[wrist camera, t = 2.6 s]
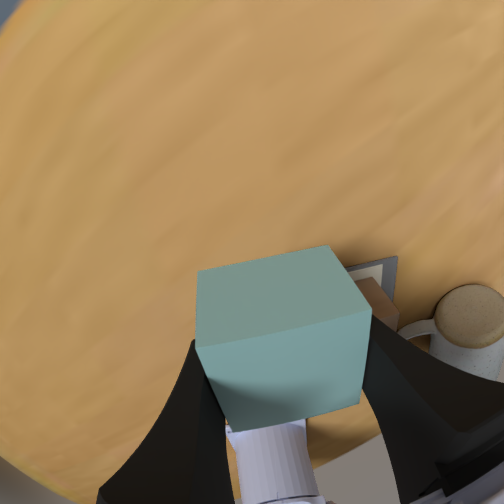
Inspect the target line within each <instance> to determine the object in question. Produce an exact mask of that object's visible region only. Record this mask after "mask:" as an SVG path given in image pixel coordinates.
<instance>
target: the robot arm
mask: <svg viewBox="0 0 504 504" xmlns="http://www.w3.org/2000/svg"><path fill="white" fill-rule="evenodd" d="M362 389H363V391H364V393H365V395H366V397H367V399H368V401H369V403H370V405H371V407H372V409H373V411H374V413H375V416H376V418H377V421H378V424H379V426H380V429H381V432H382V435H383V438H384V441H385V444H386V447H387V450H388V454H389V457H390V461H391V464H392V468H393V472H394V475H395V480H396V484H397V489H398V494H399V499H400V503H401V504H446V503H447V504H504V383H501V382H497V381H493V380H489V379H486V378H482V377H479V376H476V375H473V374H471V373H468V372H465V371H463V370H460V369H458V368H456V367H453V366H451V365H449V364H447V363H445V362H443V361H441V360H439V359H437V358H435V357H433V356H431V355H430V354H428V353H426V352H424V351H423V350H421V349H419V348H418V347H416V346H415V345H413V344H412V343H410V342H409V341H407V340H406V339H405V338H403V337H402V336H400V335H399V334H398V333H396V332H395V331H394V330H392V329H391V328H390V327H388V326H387V325H386V324H384V323H383V322H382V321H381V320H379V319H378V318H377V317H376V316H374V315H373V314H372V316H371V325H370V334H369V342H368V350H367V358H366V364H365V371H364V377H363V384H362ZM226 435H227V437H228V439H229V441H230V443H231V444H232V446H233V448H234V450H235V452H236V458H237V466H238V474H239V482H240V490H241V497H242V504H335V503H334V502H332V501H328V502H326V501H325V497H324V495H321V496H320V495H319V491H318V487H317V484H316V480H315V476H314V472H313V469H312V465H311V461H310V458H309V454H308V450H307V438H306V420H305V419H302V420H297V421H293V422H289V423H284V424H279V425H275V426H269V427H264V428H259V429H253V430H248V431H241V432H235V433H233V432H232V430H231V428H230V426H229V425H226V423H225V415H224V413H223V411H222V409H221V407H220V405H219V402H218V400H217V398H216V396H215V394H214V391H213V389H212V387H211V384H210V382H209V380H208V378H207V375H206V373H205V371H204V368H203V366H202V363H201V361H200V359H199V356H198V354H197V351H196V349H195V339H193V341H192V342H191V345H190V348H189V351H188V354H187V357H186V359H185V362H184V365H183V367H182V370H181V372H180V374H179V377H178V379H177V381H176V384H175V386H174V388H173V390H172V392H171V394H170V396H169V398H168V400H167V402H166V404H165V406H164V408H163V410H162V412H161V414H160V415H159V417H158V419H157V420H156V422H155V424H154V425H153V427H152V428H151V430H150V431H149V433H148V434H147V436H146V437H145V439H144V440H143V441H142V443H141V444H140V445H139V447H138V448H137V449H136V450H135V452H134V453H133V454H132V455H131V456H130V458H129V459H128V460H127V461H126V462H125V463H124V465H123V466H122V467H121V468H120V469H119V470H118V471H117V472H116V473H115V474H114V475H113V476H112V477H111V478H110V479H109V480H108V481H107V482H106V483H105V484H104V485H102V486H101V487H100V488H99V491H98V496H97V501H96V504H235V501H234V496H233V491H232V485H231V479H230V473H229V466H228V459H227V451H226Z"/></svg>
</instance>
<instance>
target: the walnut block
mask: <svg viewBox="0 0 504 504" xmlns="http://www.w3.org/2000/svg"><path fill="white" fill-rule="evenodd" d="M354 283H355V284H356V286H357V287H358V289H359V290H360V291H361V293H362V294H363V296H364V297H365V299H366V300H367V302H368V303H369V305H370V306H371V308H372V314H373V315H374V316H376V317H377V318H378V319H379V320H381V321H382V322H383V323H384V324H386V325H387V326H388V327H390V328H391V329H392V330H394V331H395V332H396V331H397V326H398V321H399V315H400V312H399V311H398V310H397V308H396V307H395V305H394V304H393V303H392V301H391V300H390V299H389V297H388V296H387V295H386V293H385V292H384V291H383V289H382V288H381V287H380V286H379V284H378V283H377V282H376V280H375V279H374V278H373V276H372V277H368V278H364V279H360V280H356V281H354Z"/></svg>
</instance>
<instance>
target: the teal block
mask: <svg viewBox="0 0 504 504" xmlns="http://www.w3.org/2000/svg"><path fill="white" fill-rule="evenodd" d="M371 316H372V308H371V306H370V305H369V303H368V302H367V300H366V299H365V297H364V296H363V294H362V293H361V291H360V290H359V289H358V287H357V286H356V284H355V283H354V281H353V280H352V278H351V277H350V276H349V274H348V273H347V271H346V270H345V268H344V267H343V266H342V264H341V263H340V261H339V260H338V258H337V257H336V256H335V254H334V253H333V251H332V250H331V249H330V247H329V246H328V245H324V246H319V247H314V248H310V249H305V250H300V251H295V252H290V253H285V254H281V255H276V256H271V257H266V258H261V259H256V260H251V261H246V262H241V263H236V264H232V265H227V266H222V267H217V268H212V269H207V270H202V271H198V273H197V298H196V331H195V349H196V351H197V354H198V356H199V359H200V361H201V363H202V366H203V368H204V371H205V373H206V375H207V378H208V380H209V382H210V384H211V387H212V389H213V391H214V394H215V396H216V398H217V400H218V402H219V405H220V407H221V409H222V411H223V413H224V415H225V418H226V420H227V422H228V424H229V426H230V428H231V430H232V432H233V433H235V432H241V431H248V430H253V429H259V428H264V427H269V426H275V425H279V424H284V423H289V422H293V421H297V420H302V419H306V418H310V417H314V416H318V415H321V414H325V413H329V412H332V411H336V410H339V409H343V408H346V407H349V406H353V405H356V404H359V401H360V395H361V390H362V384H363V377H364V371H365V364H366V358H367V350H368V342H369V334H370V325H371Z"/></svg>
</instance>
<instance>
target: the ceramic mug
mask: <svg viewBox="0 0 504 504" xmlns="http://www.w3.org/2000/svg"><path fill="white" fill-rule="evenodd" d="M397 333H398V334H399V335H400V336H402V337H403V338H405V339H406V340H408V339H411V338H413V337H417V336H420V335H427V334H431V341H430V347H429V353H428V354H430V355H431V356H433V357H435V358H437V359H439V360H441V361H443V362H445V363H447V364H449V365H451V366H453V367H456V368H458V369H460V370H463V371H465V372H468V373H471V374H473V375H476V376H479V377H482V378H486V379H489V380H493V381H496V380H497V378H498V375H499V372H500V368H501V365H502V362H503V358H504V297H503V296H502V295H501V294H500V293H498V292H497V291H496V290H494V289H492V288H489V287H486V286H483V285H464V286H461V287H458V288H456V289H454V290H452V291H450V292H449V293H448V294H446V295H445V296H444V297H443V298H442V299H441V301H440V302H439V304H438V306H437V308H436V312H435V314H434V317H433V319H430V320H419V321H416V322H414V323H411V324H408V325H406V326H404V327H403V328H401V329H400V330H399V331H398V332H397Z"/></svg>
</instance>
